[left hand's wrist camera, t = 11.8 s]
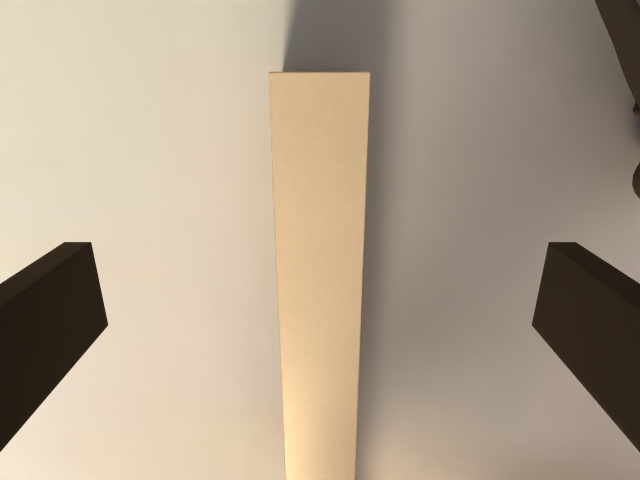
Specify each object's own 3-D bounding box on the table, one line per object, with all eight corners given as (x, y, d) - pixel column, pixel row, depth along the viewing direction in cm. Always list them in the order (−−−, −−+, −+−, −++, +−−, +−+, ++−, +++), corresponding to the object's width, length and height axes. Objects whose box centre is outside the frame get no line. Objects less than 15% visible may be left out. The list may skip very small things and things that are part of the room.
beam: (281, 72, 28) (268, 71, 21) (357, 72, 28) (370, 71, 21) (299, 638, 51) (296, 733, 43) (341, 638, 51) (345, 733, 43)
